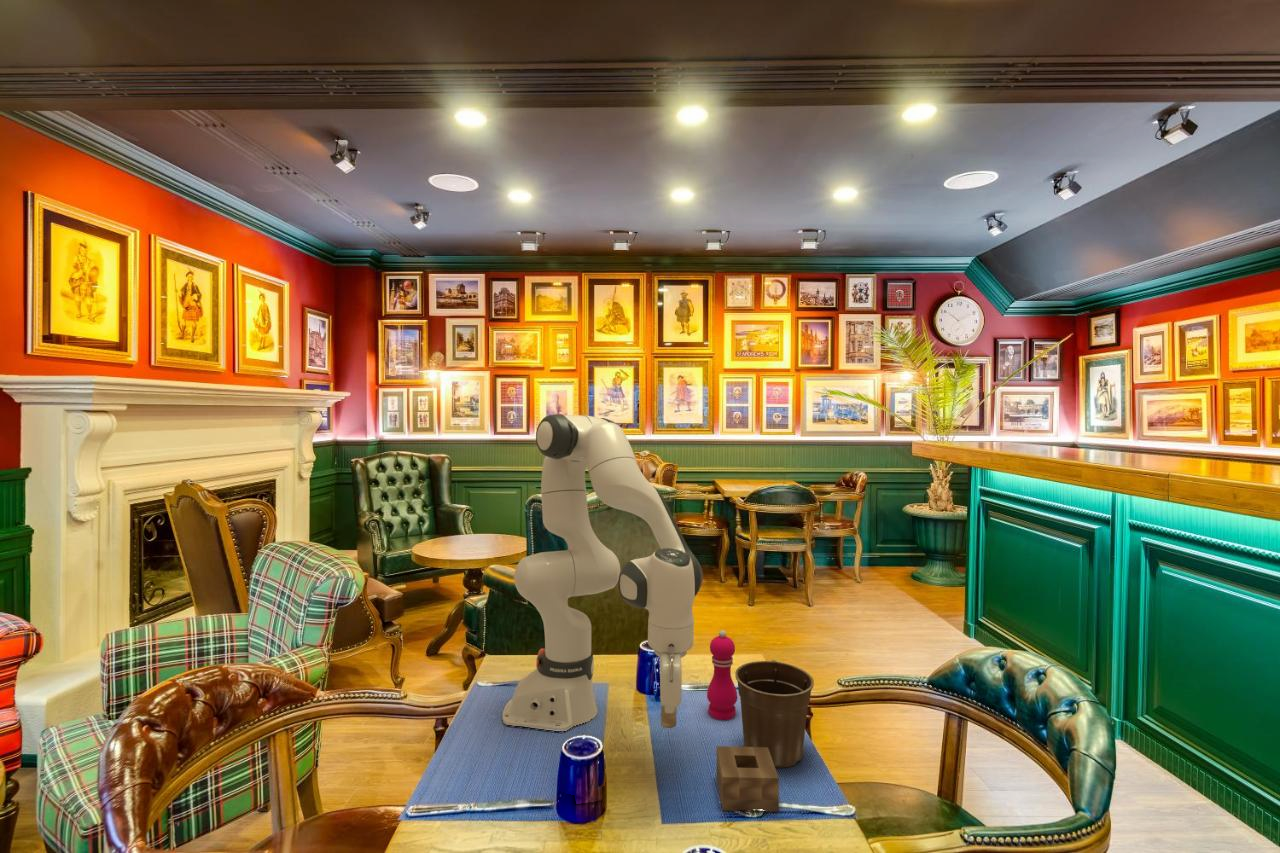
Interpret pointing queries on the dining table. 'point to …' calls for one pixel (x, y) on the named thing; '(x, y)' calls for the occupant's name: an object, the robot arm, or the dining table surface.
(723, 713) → the pepper mill
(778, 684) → the plant pot
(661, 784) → the dining table surface
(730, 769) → the bore block
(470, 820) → the dining table surface
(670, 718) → the pin
